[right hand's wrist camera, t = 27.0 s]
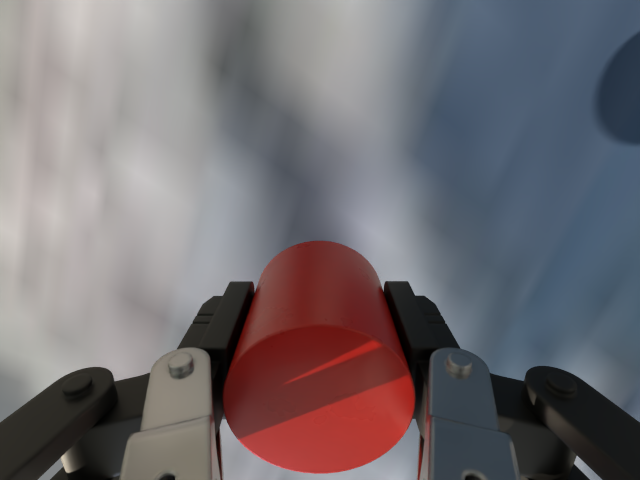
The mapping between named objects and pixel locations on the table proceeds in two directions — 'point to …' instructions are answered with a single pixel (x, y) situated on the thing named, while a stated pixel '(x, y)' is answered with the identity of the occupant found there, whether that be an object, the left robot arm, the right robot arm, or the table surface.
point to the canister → (319, 364)
